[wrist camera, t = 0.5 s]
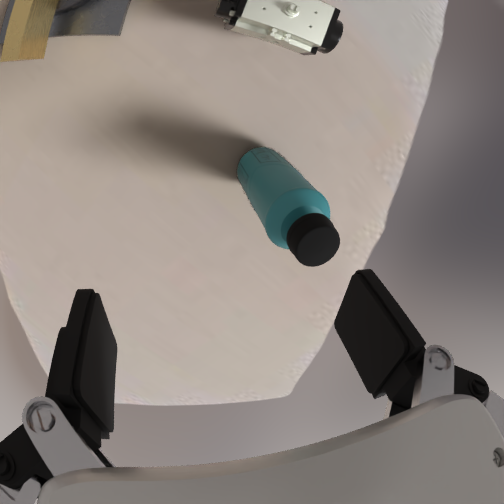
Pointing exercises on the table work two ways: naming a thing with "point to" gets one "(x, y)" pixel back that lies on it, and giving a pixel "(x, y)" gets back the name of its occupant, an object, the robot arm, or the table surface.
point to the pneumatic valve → (285, 23)
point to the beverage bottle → (288, 206)
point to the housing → (82, 18)
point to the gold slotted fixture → (28, 30)
